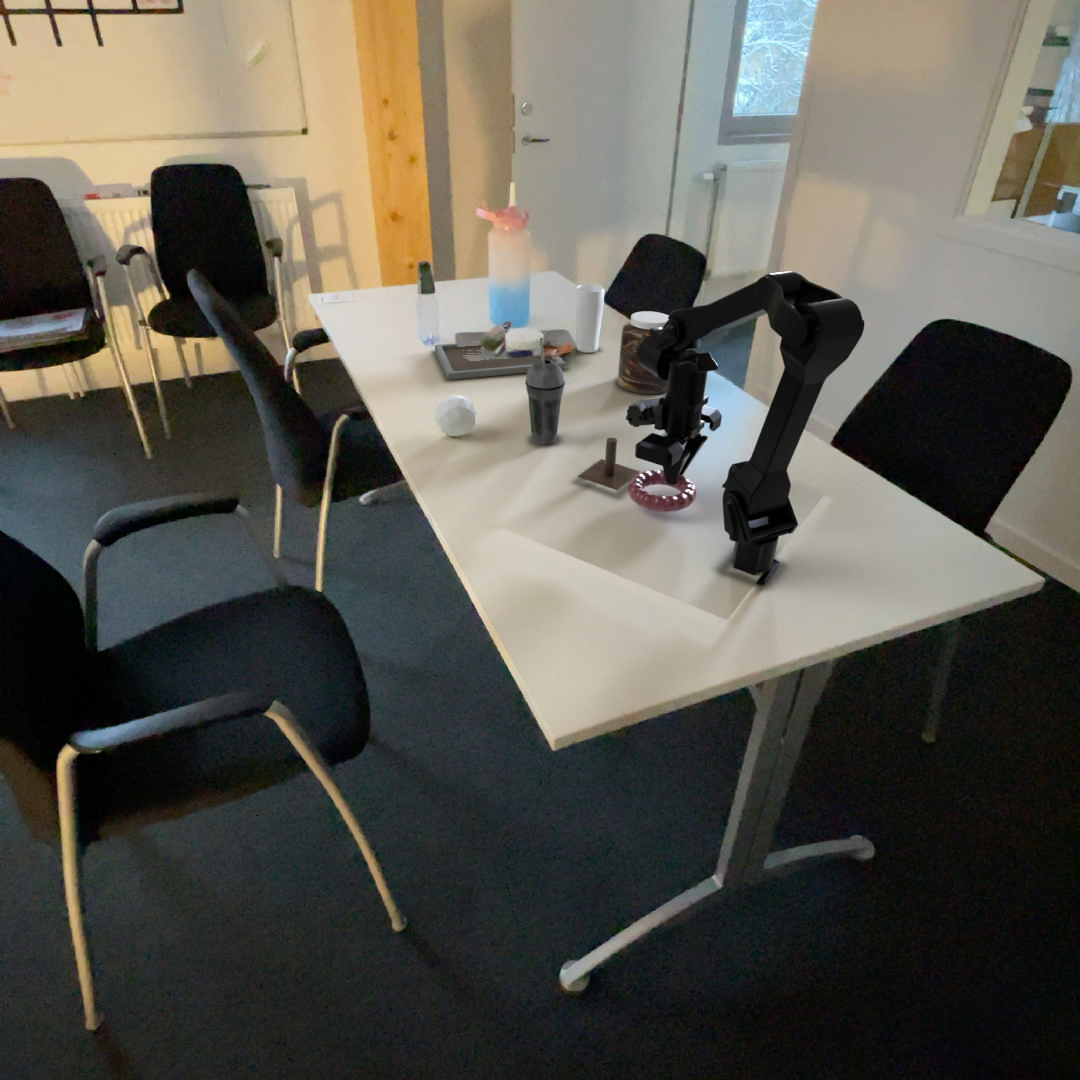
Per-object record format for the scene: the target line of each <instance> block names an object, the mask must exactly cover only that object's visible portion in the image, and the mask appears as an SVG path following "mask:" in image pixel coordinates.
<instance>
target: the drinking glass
mask: <svg viewBox="0 0 1080 1080" xmlns="http://www.w3.org/2000/svg"><path fill="white" fill-rule="evenodd" d="M574 303H575V304H574V305H575V308H574V309H575V331H576V345H575V346H576V350H577V351H578V352H579V353H586V354H591V353H595V352H597V351H598V349H599V342H600V341H599V340H600V333H601V327H602V320H603V319H602V318H603V313H604V307H605V288H604V286H602V285H600V284H593V283H585V284H579V285H577V286H576V287H575V302H574Z"/></svg>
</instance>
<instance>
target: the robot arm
mask: <svg viewBox="0 0 1080 1080" xmlns="http://www.w3.org/2000/svg"><path fill="white" fill-rule="evenodd" d="M765 315H767V319H768V324H769V327H770V328H771V330H772V331H774V332H775V333H776V334H777V335H778V336H779V337H780V338H781V339H780V343H779V351H780V354H781V358H782V362H783V366H784V368H783V371H782V374H781V377H780V380H779V382H778V384H777V387H776V391H775V392H774V395H773V398H772V401H771V404H770V406H769V408H768V411H767V413H766V416H765V418H764V422H763V424H762V427H761V430H760V432H759V435H758V437H757V441H756V443H755V445H754V448H753V450H752V453H751V456H750V458H749V459H748V460H743V461H740V462H735V463H732V464H731V466H730V467H729V468H728V472H727V477H726V480H725V482H724V483H723V484H721V485H722V487H721V488H724V490H723V493H722V513H723V514H722V515H723V528H724V531H725V532H726V533H727V534H728V536H729V537H728V538H729V540H730V541H732V542H734V545H733V551H732V556H731V561H732V563H733V566H732V568H733V569H736V570H738V571H741V572H743V573H746V574H749V575H752V576H756V575H757V574H761V575H760V576H759V578H758V579H757V580H756V581H755V584H758V585H761V586H763V585H766V584H767V583H768V581H769V580H770V579H771V577H772V576H773V575H774V574H775V572H776V571H777V569H778V568H779V567H780V564H781V561H780V560H778V559H775V556H776V551H777V546H778V542H779V538H780V537H781V536H785V535H790V534H793V533H794V532H795V531H796V529H797V528H798V526H799V522H798V520H797V517H796V515H795V511H794V508H793V506H792V503H791V500H790V498H789V496H790V491H791V489H792V484H791V483H792V482H791V479H790V477H789V473H788V468H789V466H790V464H791V461H792V459H793V456H794V454H795V451H796V449H797V447H798V445H799V443H800V439H801V438H802V436H803V433H804V430H805V428H806V427H807V423H808V421H809V419H810V417H811V414H812V411H813V409H814V407H815V404H816V402H817V400H818V398H819V395H820V393H821V391H822V388H823V386H824V383H825V382H826V380H827V379H828V378H829V376H830V375H831V374H833V373H834V372H835V371H836V370H837V369H838V368H839V367H841V365H843V363H845V362H846V361H847V360H848V358H849V357H850V355H851V354H852V352H853V351H854V349H855V347H856V346H857V345H858V343H859V341H860V340H861V338H862V337H863V334H864V331H865V320H864V319H863V316H862V312H861V310H860V308H859V306H858V304H857V303H855V302H854V301H853V300H852V299H850V298H844V297H842V296H841V295H840V294H839V293H838V292H836V291H833V290H831V289H828V288H827V287H824V286H822V285H819V284H816V283H814V282H812V281H809V280H808V279H807V278H806V277H805V276H803V275H802V274H800V273H798V272H796V271H793V270H790V271H789V270H788V271H783V272H774V273H766V274H764V275H763V276H762V277H761V276H760V278H759V279H757V280H756V281H754V282H751V283H750V284H748V285H746V286H743V287H742V288H739V289H737V290H736V291H733V292H732V293H729V294H727V295H725V296H723V297H721V298H719V299H717V300H714V301H712V302H710V303H708V304H703V305H697V306H691V307H684V308H678V309H674V310H672V311H671V312H670V313H669V315H668V319H669V320H668V321H667V322H666V324H665V325H664V327H663V328H661V327H657V328H650V330H649V336H647V337H646V338H645V339H644V340H643V341H642V342H641V344H640V345H639V348H638V349H637V352H636V358H637V362H638V363H639V365H640V366H642V367H643V368H645V369H646V370H648V371H649V372H651V373H652V374H654V375H656V376H657V377H659V378H660V379H663V380H668V382H667V391H666V393H665V394H664V395H662V396H661V397H660V396H659V397H653V398H644V399H641V400H638V401H637V402H633V403H631V404H630V405H628V408H627V410H626V415H625V420H626V421H627V422H628V424H629V425H630V426H632V427H633V428H639V427H640V426H651V425H654V426H653V427H654V428H653V429H654V430H657V431H664V433H663V434H658V433H654V432H651V433H650V434H648V435H647V436H645V437H644V438H643V439H641V440H639V442H637V443H635V449H634V457H635V458H636V459H639V460H642V461H646V462H648V463H652V464H655V465H658V466H660V467H662V470H664V474H665V478H666V482H667V484H670V485H673V484H674V483H675V481H676V479H677V477H678V475H679V474H681V475H683V476H684V474H685V473H686V471H687V469H688V468H689V466H690V465H691V464H692V462H693V461H694V459H695V457H696V456H697V454H698V453H699V452H700V450H701V449H702V447H703V446H704V444H705V443H706V442H707V441H708V438H709V436H707V435H704V434H701V431H702V429H704V428H705V424H709V427H708V429H709V430H710V431H711V432H715V431H716V430H717V429H719V428H720V427H721V424H722V417H723V415H722V413H721V412H720V410H719V409H718V408H714V407H711V406H707V404H708V403H709V396H708V395H705V392H706V387H707V386H706V385H707V380H708V372H713V371H717V370H718V369H719V366H718V363H717V362H716V361H715V360H714V358H713V357H712V355H711V352H708V351H707V352H699V351H698V350H696V349H698V348H705V347H710V346H715V345H717V344H718V343H719V342H721V341H722V340H724V339H725V338H726V337H727V335H728V334H729V332H730V330H732V329H733V328H735V327H738V326H740V325H742V324H745V323H747V322H748V323H749V322H750V321H753V320H755V319H757V318H760V317H762V316H765ZM694 349H695V350H694Z"/></svg>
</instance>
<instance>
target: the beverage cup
mask: <svg viewBox="0 0 1080 1080" xmlns="http://www.w3.org/2000/svg"><path fill="white" fill-rule="evenodd" d="M540 346H541V360H540V361H538V362H536V363H534V364H533V365H532V366H531V367H530V369H529V371H528V373H526V377H525V378H526V379H525V382H524V383H525V385H526V388H525V389H526V393H527V396H528V409H529V420H530V421H529V422H530V433H531V439H532V440H531V441H532V442H533V443H534V444H536V445H540V446H550V445H552V444H554V443H555V442H556V440H557V435H558V428H559V420H560V412H561V403H562V395H563V393H564V388H565V385H566V381H565V376H564V375H565V374H564V371H563V370H561V368H560V367H559V366H558V365H557V364H556V363H555V362H553V361H551V360H544V348H543V338H540Z"/></svg>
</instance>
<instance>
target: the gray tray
mask: <svg viewBox="0 0 1080 1080" xmlns="http://www.w3.org/2000/svg"><path fill="white" fill-rule="evenodd" d="M471 342H472V343H480V341H471ZM458 343H459V342H456V343H444V344H435V345H434V351H435V354H436V356H437V358H438V360H439V363H440V365H441V367H442V369H443V371H444V374H445V375H446V378H447V380H449V381H453V380H463V379H473V378H475V379H476V378H484V377H495V376H496V377H498V376H507V375H517V374H527V373H528V371H529V369H530V367H531V366H532V365H533V364H534V363H536V362H538V361H540V360H541V356H527V357H522V358H521V357H520V358H509V359H494V360H493V359H489V360H486V359H484V360H481V361H469V360H468V359H466V358H463V357H465V356H463V355H481V354H477V353H482V352H481V351H476V350H482V349H480V348H482V347H481V346H482V345H478V346H465V347H457V346H458ZM463 350H464V351H463ZM467 350H473V351H467ZM467 353H475V354H467ZM562 356H563V355H560V357H555V358H554V359H553V358H552V357H551V356H544V360H551V361H553V362H555V363H556V364H557V365H558V366H559V367H560V368H561V370H562V371H564V370H565V369H566V362H565V361H564V360H563V358H561V357H562ZM466 357H467V356H466Z"/></svg>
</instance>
